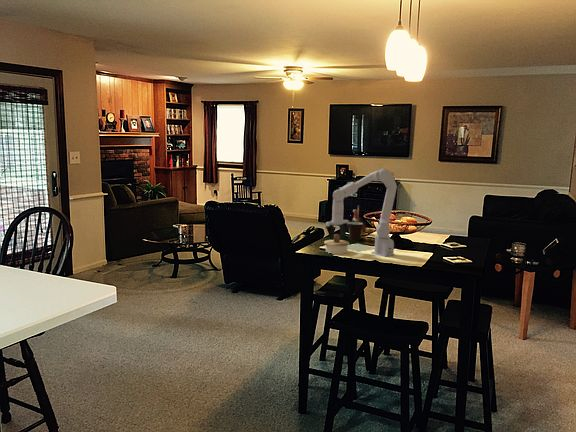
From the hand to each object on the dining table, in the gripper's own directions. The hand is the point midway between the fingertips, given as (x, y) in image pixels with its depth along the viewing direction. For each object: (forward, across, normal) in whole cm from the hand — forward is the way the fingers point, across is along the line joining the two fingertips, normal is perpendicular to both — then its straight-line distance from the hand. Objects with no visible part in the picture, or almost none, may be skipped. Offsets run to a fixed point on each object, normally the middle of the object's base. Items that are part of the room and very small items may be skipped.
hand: (336, 238), depth 257 cm
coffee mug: (+7, -33, -18) cm, 38 cm away
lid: (+3, 0, 0) cm, 3 cm away
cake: (+7, -47, -31) cm, 57 cm away
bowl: (+7, 0, 0) cm, 7 cm away
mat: (+7, -17, -1) cm, 18 cm away
